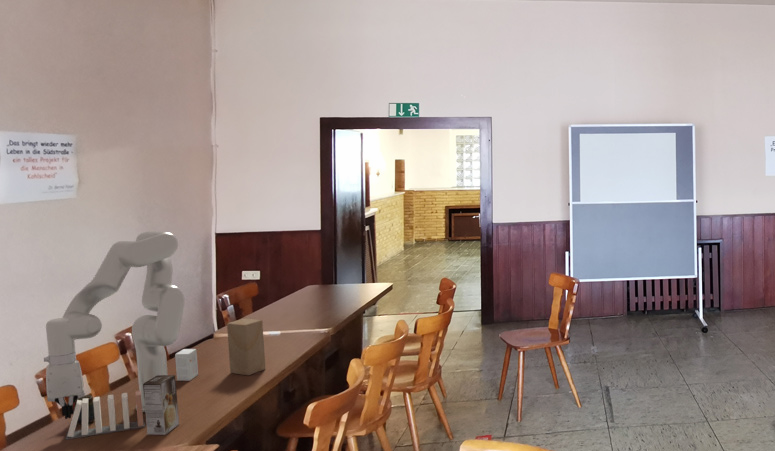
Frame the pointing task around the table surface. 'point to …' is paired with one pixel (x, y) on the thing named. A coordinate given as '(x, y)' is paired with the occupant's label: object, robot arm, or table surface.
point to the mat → (105, 430)
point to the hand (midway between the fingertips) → (68, 417)
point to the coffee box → (161, 404)
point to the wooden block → (246, 346)
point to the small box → (186, 364)
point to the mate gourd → (90, 409)
